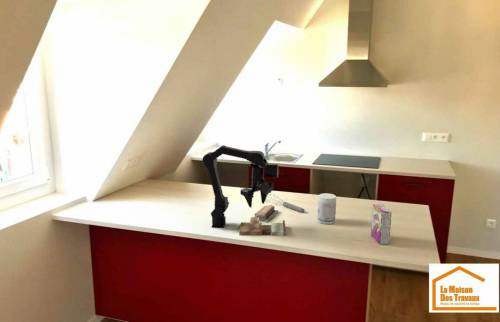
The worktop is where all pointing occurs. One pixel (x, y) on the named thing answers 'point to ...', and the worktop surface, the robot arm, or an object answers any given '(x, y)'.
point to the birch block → (254, 223)
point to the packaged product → (266, 213)
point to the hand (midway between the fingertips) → (256, 205)
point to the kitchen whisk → (289, 205)
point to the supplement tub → (326, 208)
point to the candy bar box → (381, 224)
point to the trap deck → (263, 229)
